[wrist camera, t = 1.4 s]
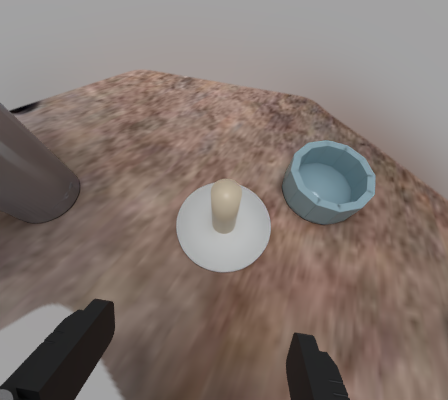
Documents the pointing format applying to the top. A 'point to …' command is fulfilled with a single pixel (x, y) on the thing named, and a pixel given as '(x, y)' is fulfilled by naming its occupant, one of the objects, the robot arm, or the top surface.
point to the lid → (223, 226)
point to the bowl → (327, 182)
